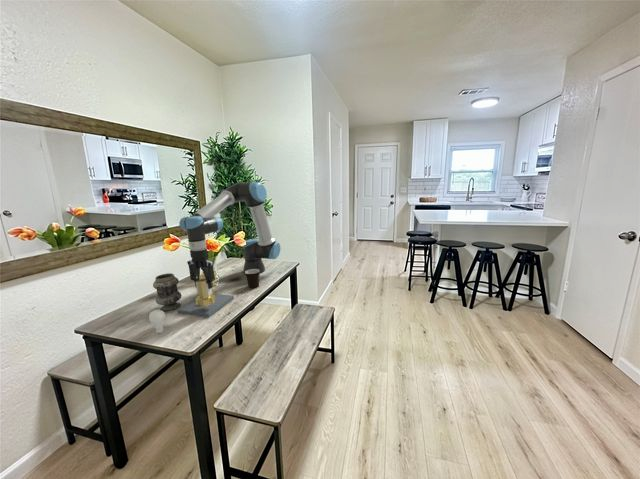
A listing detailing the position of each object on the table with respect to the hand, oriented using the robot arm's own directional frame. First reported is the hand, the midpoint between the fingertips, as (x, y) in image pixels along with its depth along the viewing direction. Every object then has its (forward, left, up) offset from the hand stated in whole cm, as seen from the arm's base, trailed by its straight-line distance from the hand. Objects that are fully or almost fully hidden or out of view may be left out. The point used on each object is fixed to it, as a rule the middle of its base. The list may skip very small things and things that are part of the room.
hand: (204, 293), depth 136 cm
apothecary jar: (0, -24, -11) cm, 26 cm away
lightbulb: (+21, -9, -11) cm, 25 cm away
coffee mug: (-36, +6, -11) cm, 38 cm away
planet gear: (0, 0, -5) cm, 5 cm away
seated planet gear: (-13, -11, -8) cm, 18 cm away
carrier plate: (-6, -5, -10) cm, 13 cm away
